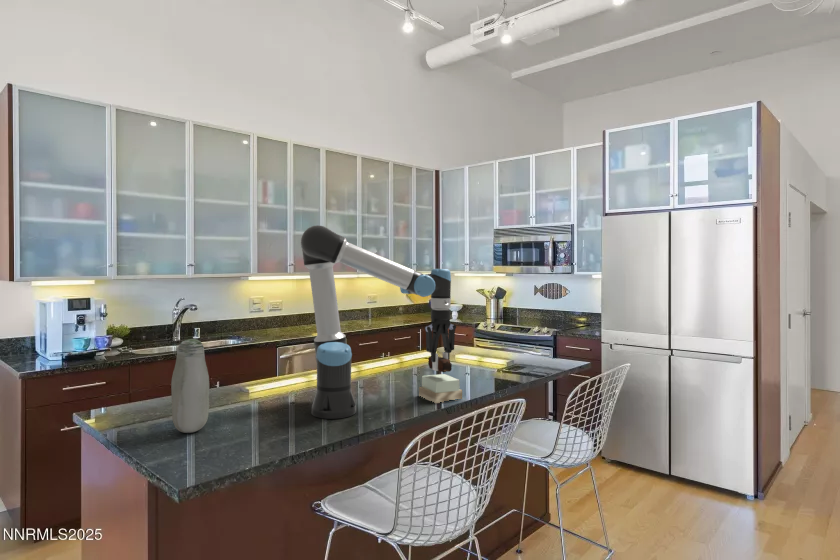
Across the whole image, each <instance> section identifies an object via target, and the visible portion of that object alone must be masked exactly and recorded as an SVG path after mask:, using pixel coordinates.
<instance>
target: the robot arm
mask: <svg viewBox="0 0 840 560" xmlns="http://www.w3.org/2000/svg"><path fill="white" fill-rule="evenodd" d="M300 246H301V247H300V248H301V251H302V259H303V266H304V268H305V269H308V272H309V280H310V288H311V295H312V296H311V297H312V302H313V303H312V305H313V311H314V318H315V328H316V336H315V337H314V339H313V342H314V351H315V352H314V353H315V361H316V393H315V395H314V399H313V401H312V404H311V410H310V411H311V415H312V416H313V417H315V418H318V419H319V418H320V419H326V420H327V419H328V420H330V419H331V420H333V419H334V420H335V419H344V418H348V417H352V416H354V415H355V414H356V413H357V405H356V402H355V397H354V395H353V392H352V356H353V353H352V348H351V346H350V345H349V344H347V343H348V342H347V337H346V335H347V334H345V333H343V332H342V329H341V322H340V314H339V307H338V305H339V304H338V298H337V290H336V282H335V275H334V274H335V273H334V266H335V265H336V264H338V263H340V264H342V265H345V266H346V267H350V268H352V269H353V270H356V271H359V272H361V273H364V274H367V275H369V276H372V277H374V278H377V279H379V280H381V281H384V282H385V283H389V284H390V285H393V286H396V287H398V288H399V291H400V293H401V294H402V295H403V294H404V295H406V294H407V295H412V294H413V295H417V296H420V297H423V298H424V297H429V296H430V297H431V298H430V308H431V310H430V320H431V322H430V324H429V325H426V326H423V327H424V331H425V345H426V346H425V349H426V350H425V351H426V352H428V353H430V357H431V362H432V369H431V370H433V371H434V372H435V371H436V372H439V371H438V356H439V353H437V351H438V345H439V340H440V336H441V338H442V344H443V351H442V358H445V359H449V360H450V357H451V356H450V355H451V353H452V352H453V351H454V350H455V340H456V339H455V335H456V329H457V325H456V324H452V323H451V320H450V319H451V315H452V314H451V304H452V303H451V300H452V299H451V293H452V291H451V290H452V288H451V286H452V274H451V270H450V269H448V268H432V269H431V271H430V273H422V272H419V271H417V270H414V269H412V268H409V267H407V266H405V265H403V264H400V263H398V262H396V261H393V260H391V259H389V258H386V257H385V256H382V255H379V254H377V253H375V252H373V251H369V250H367V249H365V248H363V247H361V246H358V245H356V244H353V243H351V242H348V241H347V238H346V237H344V236H342V235H340V234H338V233H336V232H334V231H332V230H331V229H330V228H328V227H326V226H324V225H311V226H310V227H308V228H306V230H304V232H303V233H302V235H301V238H300Z"/></svg>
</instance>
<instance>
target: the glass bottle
mask: <svg viewBox="0 0 840 560" xmlns="http://www.w3.org/2000/svg"><path fill="white" fill-rule="evenodd" d="M170 383H171V386H170V387H171V391H170V392H171V393H170V394H171V417H172V422H173V425H174V427H175V429H176V430H177V431H179V432H181V433H183V434H192V433H196V432H198V431H200V430H201V429H203V427H204V426H206V423H207V421H208V418H209V413H210V412H209V411H210V407H209V406H210V404H209V403H210V400H209V399H210V376H209V370H208V366H207V362H206V357H205V347H204V344H203V342H201V340H199V339H197V338H188V339H185V340H183V341H181V342H180V343H179V345H178V347H177V350H176V359H175V365H174V368H173V372H172V377H171V382H170Z"/></svg>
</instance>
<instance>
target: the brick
mask: <svg viewBox="0 0 840 560" xmlns="http://www.w3.org/2000/svg"><path fill="white" fill-rule="evenodd" d="M427 363H428V366H429V369H431V370H432V362H431V356H429V357H428V362H427ZM452 369H453V366H452V363H451V360H450V359H445V358H443V356H439V355H438V371H437V372H441V373H446V372H451V371H452Z"/></svg>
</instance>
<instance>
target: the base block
mask: <svg viewBox="0 0 840 560" xmlns="http://www.w3.org/2000/svg"><path fill="white" fill-rule="evenodd" d="M418 396H419V397H420V396H421V397H420V398H422V397H423V398H422V399H424V398H425V399H424V400H427V401H429V402H431V401H432V403H433V402H434V404H441V403H440V402H442V403H445V402H444V401H449V400H455V399H462V400H463V389H460V391H451V392H441V393H435V392H433V391H431V390H429V389H427V388H425V387H423V386H419V387H418ZM455 401H456V400H455ZM449 402H450V401H449Z"/></svg>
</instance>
